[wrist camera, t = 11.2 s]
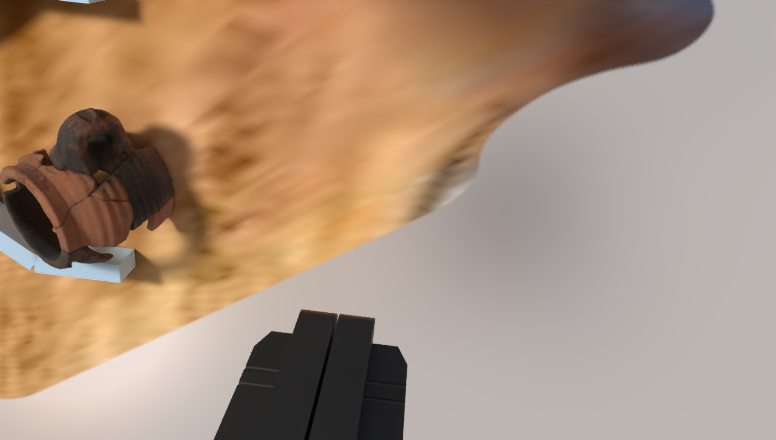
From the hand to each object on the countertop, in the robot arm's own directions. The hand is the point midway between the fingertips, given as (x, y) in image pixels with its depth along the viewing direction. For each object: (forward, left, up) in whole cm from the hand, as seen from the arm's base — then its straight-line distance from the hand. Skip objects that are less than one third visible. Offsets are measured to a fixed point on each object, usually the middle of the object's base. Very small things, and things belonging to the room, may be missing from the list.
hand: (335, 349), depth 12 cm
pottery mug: (+10, -20, -29) cm, 37 cm away
